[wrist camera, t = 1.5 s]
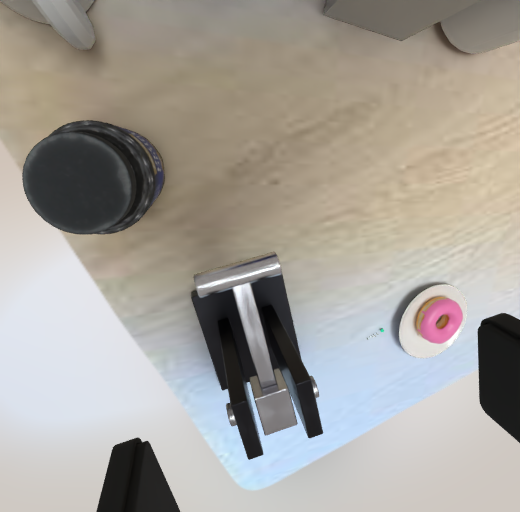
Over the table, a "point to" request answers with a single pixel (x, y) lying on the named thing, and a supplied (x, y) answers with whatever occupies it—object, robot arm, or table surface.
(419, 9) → the perfume bottle
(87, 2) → the cup
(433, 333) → the donut
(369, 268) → the table surface
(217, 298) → the lever bracket
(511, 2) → the can
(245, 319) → the flush lever
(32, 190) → the pill bottle
